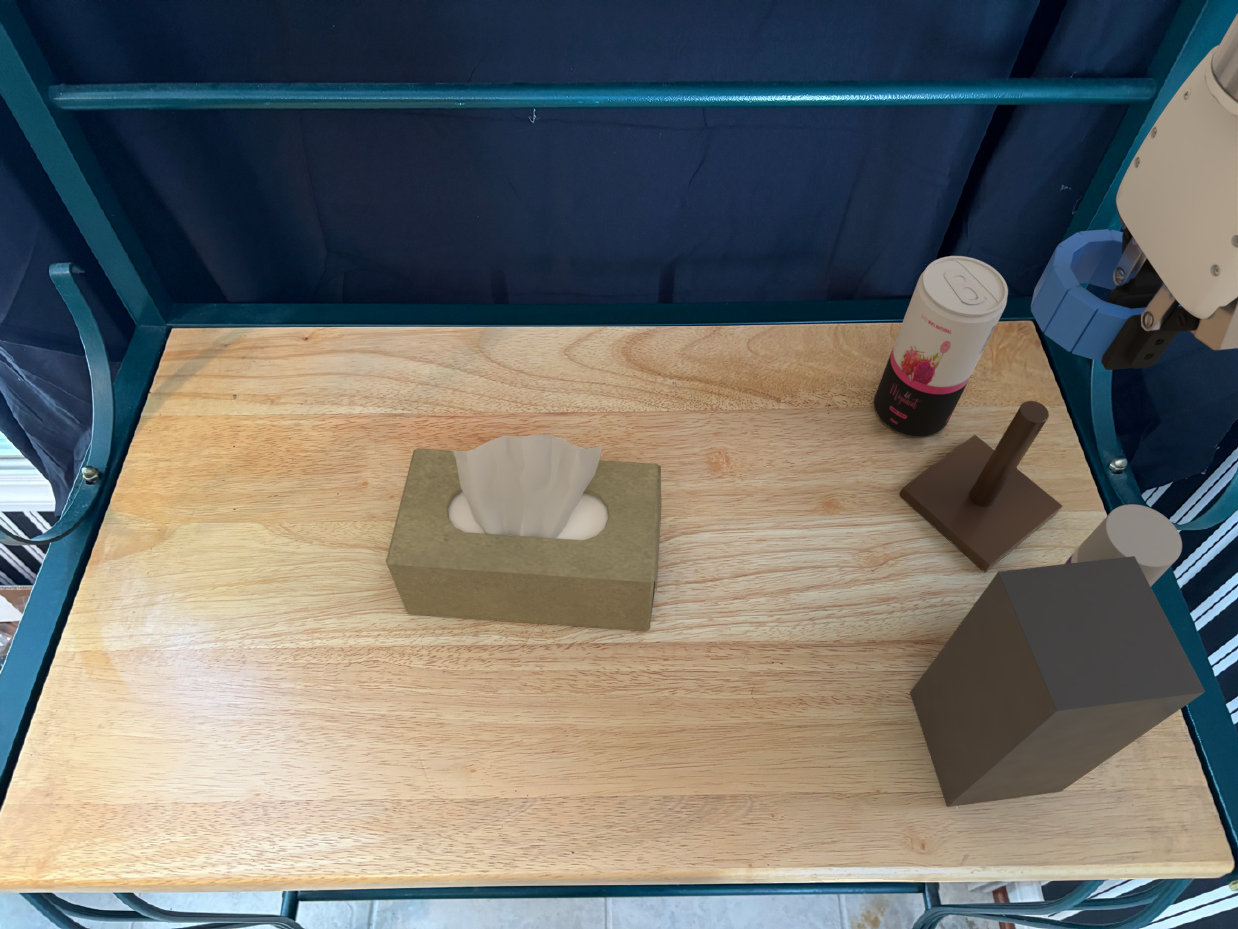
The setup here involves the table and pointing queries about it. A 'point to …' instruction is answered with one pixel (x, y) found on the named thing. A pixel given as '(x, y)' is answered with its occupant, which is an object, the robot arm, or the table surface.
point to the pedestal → (1050, 680)
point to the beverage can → (939, 344)
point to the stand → (986, 492)
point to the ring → (1081, 294)
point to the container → (1133, 540)
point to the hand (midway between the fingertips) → (1119, 349)
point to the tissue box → (528, 535)
